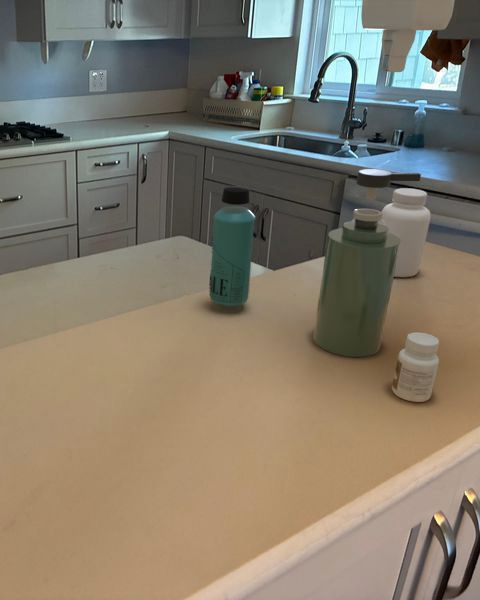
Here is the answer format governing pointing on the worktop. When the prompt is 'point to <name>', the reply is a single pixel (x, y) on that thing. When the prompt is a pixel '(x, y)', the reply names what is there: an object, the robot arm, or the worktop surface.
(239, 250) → the beverage bottle
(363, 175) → the pump head
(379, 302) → the dispenser
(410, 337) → the pill bottle
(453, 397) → the worktop surface
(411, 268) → the pill bottle
